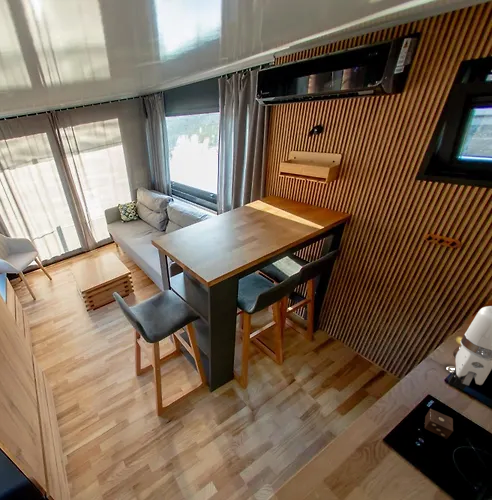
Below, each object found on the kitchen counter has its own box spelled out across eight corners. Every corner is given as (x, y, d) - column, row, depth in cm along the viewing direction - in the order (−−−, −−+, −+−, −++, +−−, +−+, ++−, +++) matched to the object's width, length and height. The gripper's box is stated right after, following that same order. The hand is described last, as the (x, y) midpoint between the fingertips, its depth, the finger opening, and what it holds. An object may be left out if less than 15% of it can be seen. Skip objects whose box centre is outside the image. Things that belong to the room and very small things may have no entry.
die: (446, 426, 85) (452, 418, 83) (446, 439, 82) (453, 431, 80) (425, 416, 89) (430, 408, 86) (424, 428, 86) (430, 420, 83)
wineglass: (444, 371, 100) (456, 351, 95) (444, 362, 104) (456, 341, 98) (466, 380, 96) (481, 359, 91) (466, 369, 100) (480, 349, 94)
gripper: (508, 370, 65) (476, 410, 74) (500, 334, 74) (472, 374, 83) (463, 355, 70) (438, 395, 79) (461, 323, 79) (438, 362, 88)
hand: (455, 384), depth 81 cm, fingers closed
